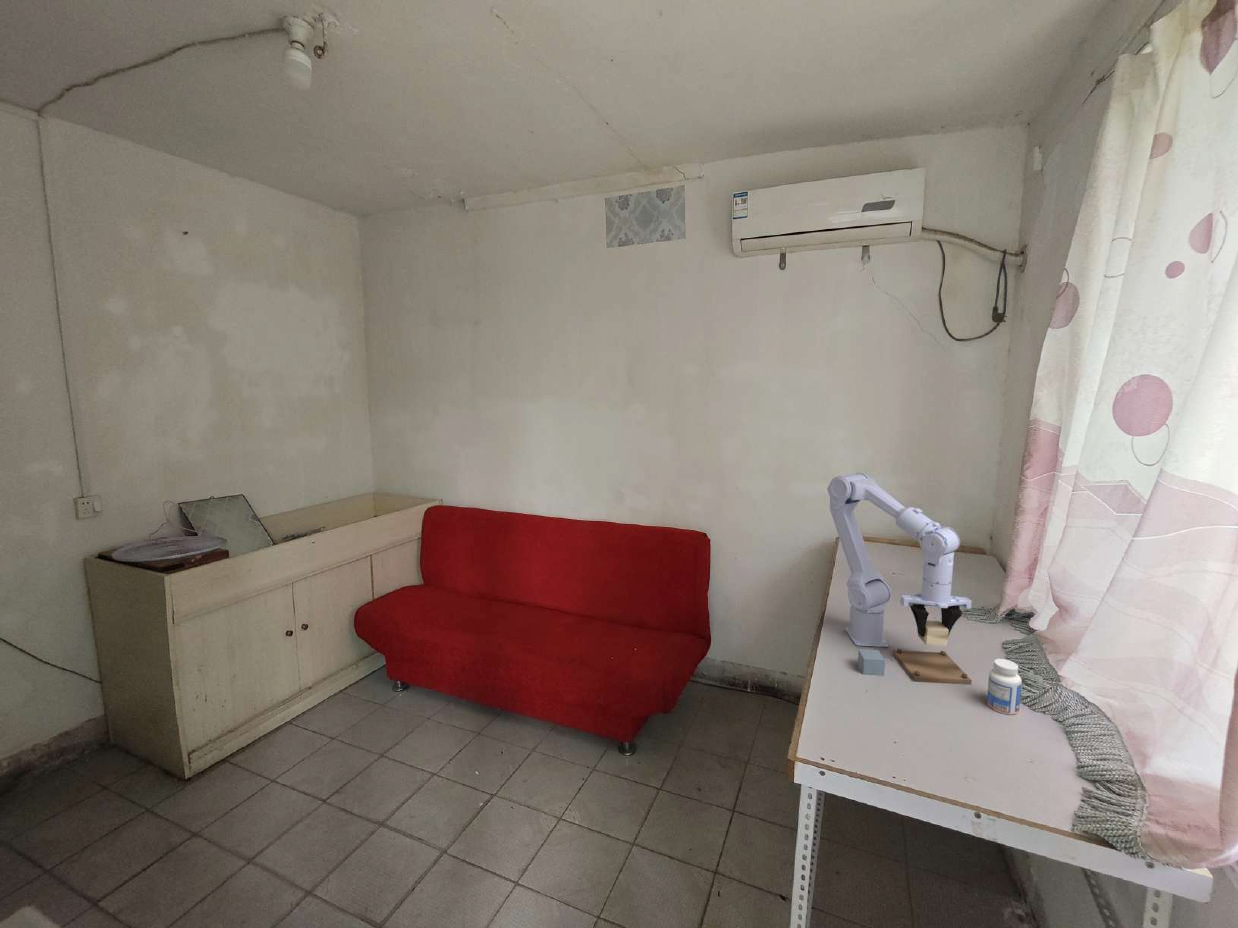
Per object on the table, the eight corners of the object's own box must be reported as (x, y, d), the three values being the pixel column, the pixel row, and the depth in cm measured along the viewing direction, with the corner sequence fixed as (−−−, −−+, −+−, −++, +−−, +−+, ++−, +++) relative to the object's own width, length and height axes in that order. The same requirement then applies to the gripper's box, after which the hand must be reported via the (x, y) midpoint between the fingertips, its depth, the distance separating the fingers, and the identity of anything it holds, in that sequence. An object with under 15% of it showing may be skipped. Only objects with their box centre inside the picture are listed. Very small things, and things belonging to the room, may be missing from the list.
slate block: (857, 664, 124) (858, 649, 123) (877, 665, 123) (878, 650, 123) (863, 674, 120) (864, 658, 119) (884, 676, 119) (885, 660, 118)
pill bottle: (1005, 698, 109) (1009, 656, 108) (1025, 714, 104) (1030, 670, 103) (980, 699, 109) (984, 657, 108) (999, 715, 104) (1003, 671, 102)
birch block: (917, 635, 123) (919, 620, 122) (938, 636, 122) (939, 620, 122) (926, 645, 118) (927, 628, 118) (947, 646, 118) (948, 629, 117)
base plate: (893, 653, 128) (893, 647, 128) (945, 656, 126) (945, 649, 126) (913, 681, 116) (914, 674, 116) (971, 684, 115) (971, 677, 114)
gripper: (910, 585, 115) (906, 642, 117) (980, 587, 113) (975, 645, 115) (898, 574, 122) (894, 627, 124) (964, 575, 120) (959, 630, 122)
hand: (932, 635), depth 120 cm, fingers closed on birch block, 4 cm apart
